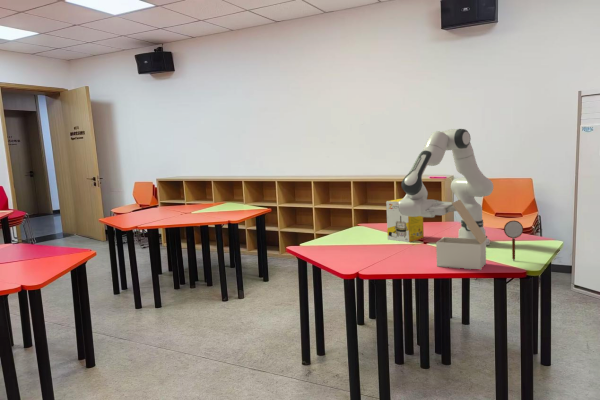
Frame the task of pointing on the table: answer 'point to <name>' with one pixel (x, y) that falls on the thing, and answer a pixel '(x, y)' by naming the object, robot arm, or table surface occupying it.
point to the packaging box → (402, 224)
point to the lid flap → (469, 221)
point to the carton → (460, 253)
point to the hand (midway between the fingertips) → (459, 209)
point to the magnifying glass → (513, 233)
